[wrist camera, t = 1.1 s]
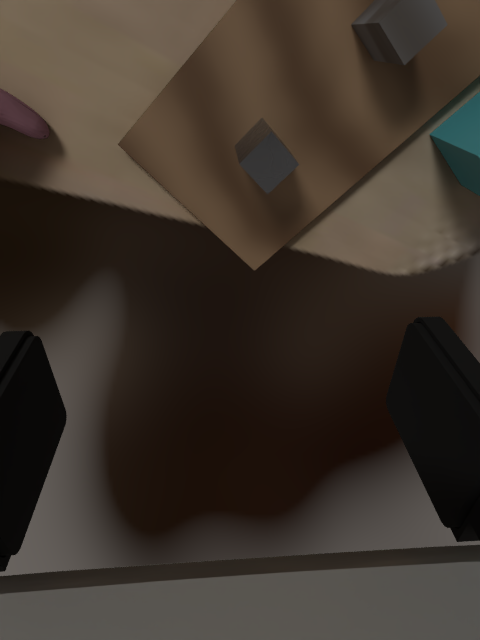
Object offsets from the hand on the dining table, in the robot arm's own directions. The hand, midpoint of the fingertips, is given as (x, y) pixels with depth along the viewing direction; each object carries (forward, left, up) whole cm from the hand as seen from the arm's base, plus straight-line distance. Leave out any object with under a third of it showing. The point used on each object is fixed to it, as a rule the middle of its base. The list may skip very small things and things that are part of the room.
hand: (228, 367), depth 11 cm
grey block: (-3, +2, -24) cm, 24 cm away
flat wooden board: (-8, +2, -24) cm, 25 cm away
